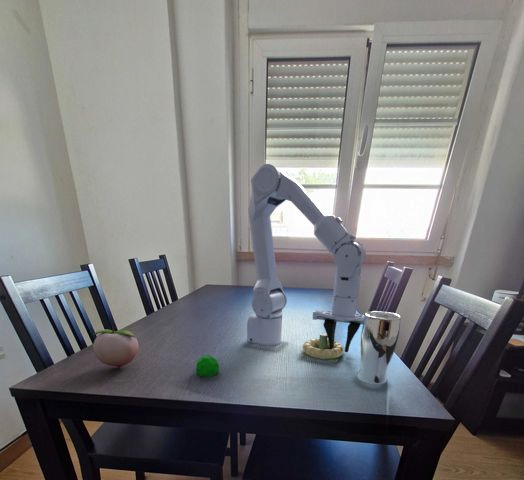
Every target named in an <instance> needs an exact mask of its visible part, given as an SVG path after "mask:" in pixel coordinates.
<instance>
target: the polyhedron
mask: <svg viewBox="0 0 524 480" xmlns="http://www.w3.org/2000/svg"><path fill="white" fill-rule="evenodd" d="M195 365H196V366H195V372H196V373H197V375H198V376H200V377H205V378H209V377H215V376H216V375H217V374H218V373H219V368H220V363H219V361H218V359H216V358H214V357H212V356H210V355H203V356H201V357H199V358H198V360H197V361H196V364H195Z"/></svg>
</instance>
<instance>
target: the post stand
mask: <svg viewBox="0 0 524 480" xmlns="http://www.w3.org/2000/svg"><path fill="white" fill-rule="evenodd" d="M318 339H319V349H328V348H326V347H327V340H328V336H327V333H326V332H325V333H319V338H318ZM300 357H307V358H312V359H315V358H314V357H312V356H309V355H307V354H306V353H305V352H304V351H303V352H302V353H301V355H300ZM316 359H317V360H323V361H329V362H333V363H336V362H337V361H338V359H339V357H337V358H334V359H320V358H316Z"/></svg>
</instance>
